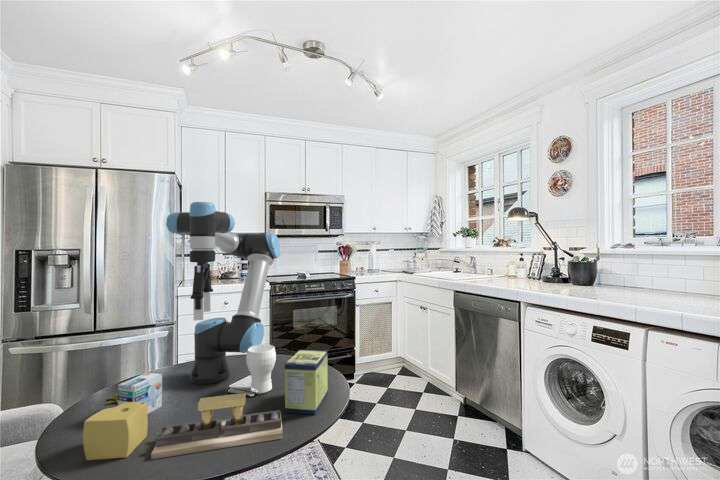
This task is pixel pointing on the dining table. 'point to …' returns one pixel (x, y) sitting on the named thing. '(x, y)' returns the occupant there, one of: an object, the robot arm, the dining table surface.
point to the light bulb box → (142, 390)
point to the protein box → (306, 381)
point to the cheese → (115, 431)
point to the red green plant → (115, 398)
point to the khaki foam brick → (221, 402)
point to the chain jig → (217, 434)
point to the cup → (261, 366)
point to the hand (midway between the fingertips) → (202, 315)
